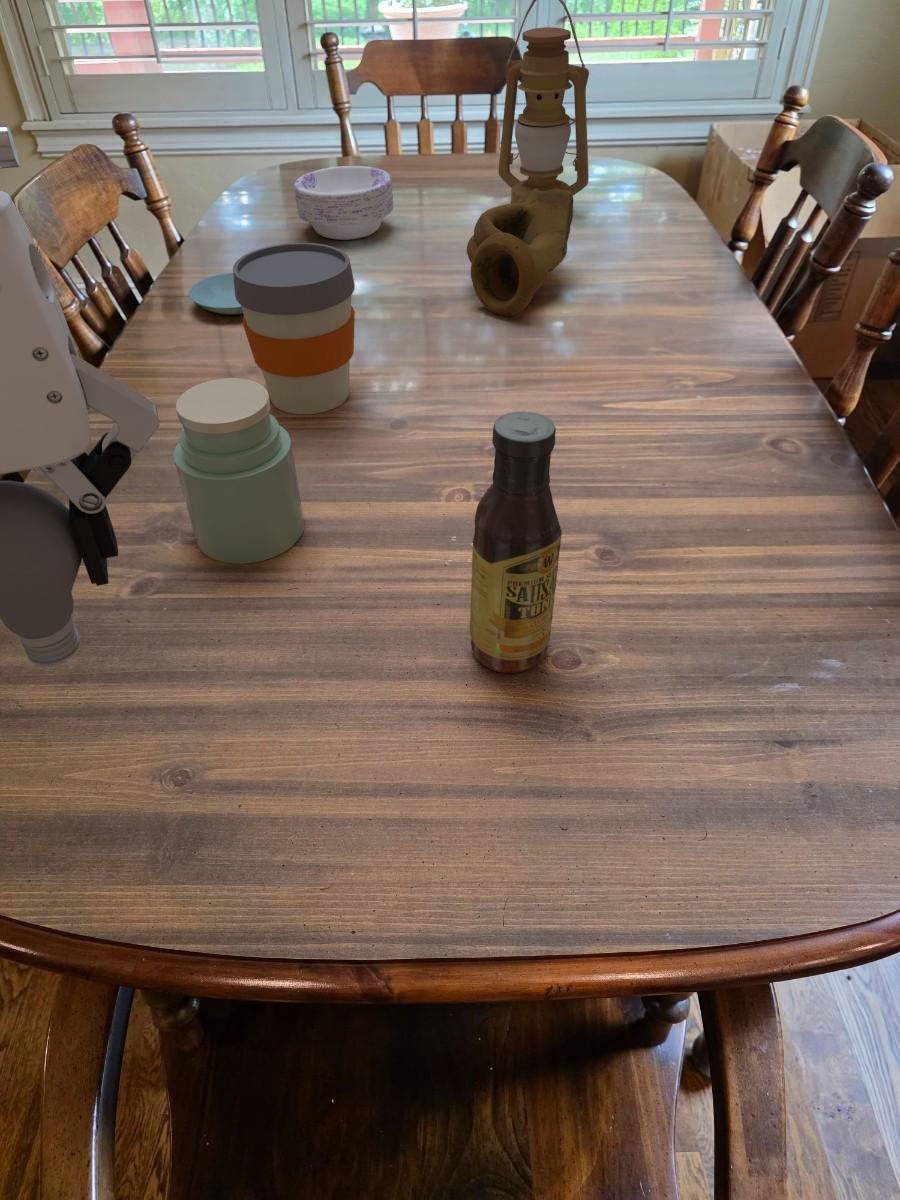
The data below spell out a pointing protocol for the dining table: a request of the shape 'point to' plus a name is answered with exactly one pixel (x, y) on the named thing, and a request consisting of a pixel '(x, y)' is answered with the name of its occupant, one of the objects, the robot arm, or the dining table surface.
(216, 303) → the saucer
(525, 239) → the brown looped sculpture
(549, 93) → the lantern
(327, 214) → the paper bowls
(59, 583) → the light bulb
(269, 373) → the reusable coffee cup
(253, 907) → the dining table surface
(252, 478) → the green lidded jar
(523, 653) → the sauce bottle
